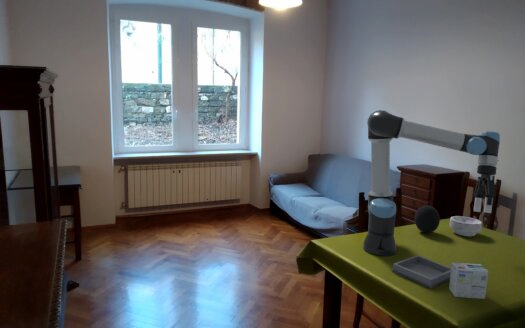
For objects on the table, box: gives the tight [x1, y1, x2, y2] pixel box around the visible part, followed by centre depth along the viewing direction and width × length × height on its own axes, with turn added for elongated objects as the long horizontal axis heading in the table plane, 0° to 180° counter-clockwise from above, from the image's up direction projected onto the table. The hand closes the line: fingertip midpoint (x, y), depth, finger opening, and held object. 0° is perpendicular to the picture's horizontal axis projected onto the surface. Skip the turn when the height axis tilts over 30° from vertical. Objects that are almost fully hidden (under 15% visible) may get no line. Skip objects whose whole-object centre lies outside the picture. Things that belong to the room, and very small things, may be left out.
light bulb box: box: [448, 262, 489, 300], centre depth 142 cm, size 11×7×11 cm, turn 84°
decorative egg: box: [414, 204, 441, 234], centre depth 208 cm, size 12×12×15 cm
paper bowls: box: [449, 215, 483, 238], centre depth 209 cm, size 15×15×8 cm
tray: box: [392, 254, 451, 289], centre depth 158 cm, size 17×17×4 cm
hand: (482, 212), depth 176 cm, fingers open, 13 cm apart
